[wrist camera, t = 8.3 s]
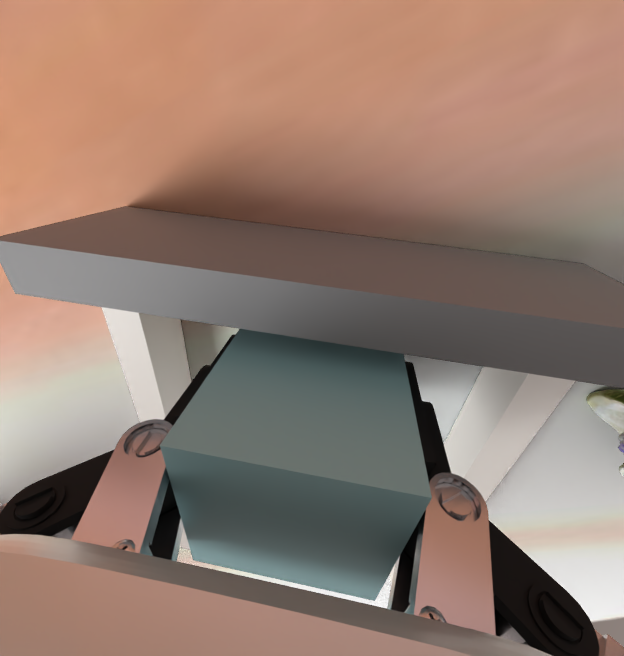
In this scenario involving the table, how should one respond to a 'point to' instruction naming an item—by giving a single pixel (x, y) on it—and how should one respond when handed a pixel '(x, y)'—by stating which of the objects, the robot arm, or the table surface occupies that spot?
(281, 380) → the block
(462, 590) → the robot arm
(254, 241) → the guide channel
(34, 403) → the table surface
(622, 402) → the passion flower
